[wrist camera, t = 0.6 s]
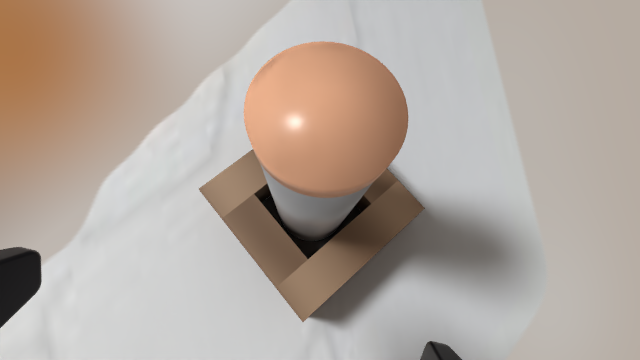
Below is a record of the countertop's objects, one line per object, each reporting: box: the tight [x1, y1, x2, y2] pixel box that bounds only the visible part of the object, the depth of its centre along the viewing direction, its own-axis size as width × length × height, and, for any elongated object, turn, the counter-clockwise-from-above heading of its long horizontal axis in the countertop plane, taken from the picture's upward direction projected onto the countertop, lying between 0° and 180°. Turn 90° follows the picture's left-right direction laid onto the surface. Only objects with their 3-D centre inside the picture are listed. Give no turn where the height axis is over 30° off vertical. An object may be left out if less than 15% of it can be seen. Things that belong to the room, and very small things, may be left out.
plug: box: [244, 42, 408, 241], centre depth 16 cm, size 5×5×14 cm
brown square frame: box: [199, 150, 425, 322], centre depth 21 cm, size 10×10×3 cm
